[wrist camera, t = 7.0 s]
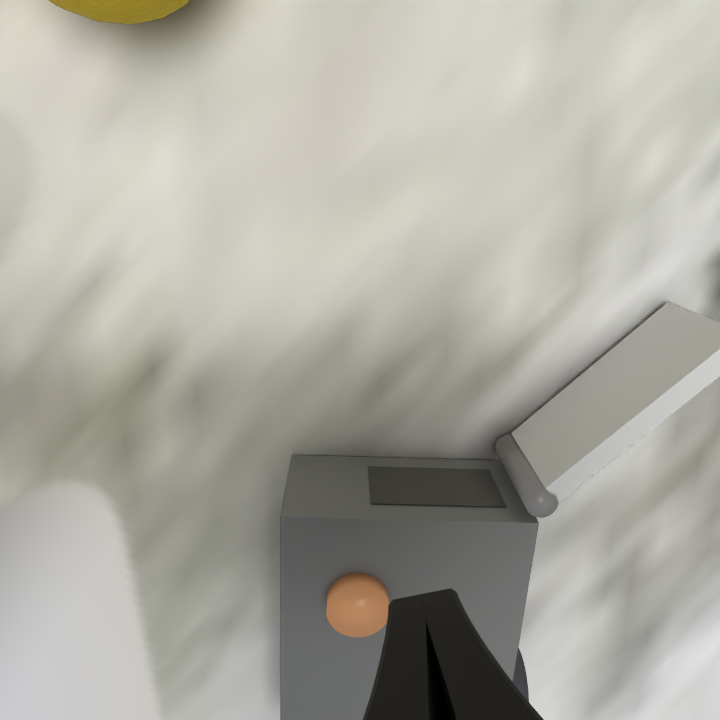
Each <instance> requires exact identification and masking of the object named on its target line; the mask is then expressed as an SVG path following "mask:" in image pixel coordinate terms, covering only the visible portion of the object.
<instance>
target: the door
mask: <svg viewBox="0 0 720 720" xmlns="http://www.w3.org/2000/svg"><path fill="white" fill-rule="evenodd" d="M719 376H720V323H719V322H717V321H714V320H712V319H709V318H707V317H705V316H702V315H700V314H697V313H695V312H693V311H690V310H688V309H685V308H683V307H681V306H678V305H676V304H673V303H671V302H667V303H666V304H665V305H664V306H663V307H661V308H660V309H659V310H658V311H657V312H655V313H654V314H653V315H652V316H651V317H649V318H648V319H647V320H646V321H645V322H643V323H642V324H641V325H640V326H639V327H637V328H636V329H635V330H634V331H633V332H632V333H630V334H629V335H628V336H627V337H626V338H624V339H623V340H622V341H621V342H620V343H618V344H617V345H616V346H615V347H614V348H612V349H611V350H610V351H609V352H608V353H606V354H605V355H604V356H603V357H602V358H600V359H599V360H598V361H597V362H596V363H594V364H593V365H592V366H591V367H590V368H588V369H587V370H586V371H585V372H584V373H582V374H581V375H580V376H579V377H578V378H576V379H575V380H574V381H573V382H572V383H571V384H569V385H568V386H567V387H566V388H565V389H563V390H562V391H561V392H560V393H559V394H557V395H556V396H555V397H554V398H553V399H551V400H550V401H549V402H548V403H547V404H545V405H544V406H543V407H542V408H541V409H539V410H538V411H537V412H536V413H535V414H533V415H532V416H531V417H530V418H529V419H527V420H526V421H525V422H524V423H523V424H521V425H520V426H519V427H518V428H517V429H515V430H514V431H513V432H512V433H511V434H506V435H503V436H502V437H500V438H499V439H498V440H497V442H496V445H495V450H496V452H497V454H498V456H499V458H500V460H501V462H502V464H503V466H504V468H505V469H506V471H507V473H508V475H509V477H510V479H511V481H512V483H513V485H514V487H515V488H516V490H517V492H518V494H519V496H520V498H521V500H522V502H523V504H524V505H525V507H526V509H527V511H528V512H529V514H531V515H532V516H534V517H546V516H549V515H550V514H552V513H553V512H554V511H555V510H556V508H557V506H558V502H560V501H562V500H563V499H564V498H565V497H567V496H568V495H569V494H571V493H572V492H573V491H574V490H576V489H577V488H578V487H579V486H581V485H582V484H583V483H585V482H586V481H587V480H588V479H590V478H591V477H592V476H593V475H595V474H596V473H597V472H599V471H600V470H601V469H602V468H604V467H605V466H606V465H607V464H609V463H610V462H611V461H613V460H614V459H615V458H616V457H618V456H619V455H620V454H621V453H623V452H624V451H625V450H627V449H628V448H629V447H630V446H632V445H633V444H634V443H635V442H637V441H638V440H639V439H641V438H642V437H643V436H644V435H646V434H647V433H648V432H649V431H651V430H652V429H653V428H655V427H656V426H657V425H658V424H660V423H661V422H662V421H663V420H665V419H666V418H667V417H669V416H670V415H671V414H672V413H674V412H675V411H676V410H677V409H679V408H680V407H681V406H683V405H684V404H685V403H686V402H688V401H689V400H690V399H691V398H693V397H694V396H695V395H697V394H698V393H699V392H700V391H702V390H703V389H704V388H705V387H707V386H708V385H709V384H711V383H712V382H713V381H714V380H716V379H717V378H718V377H719Z"/></svg>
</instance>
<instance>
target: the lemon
mask: <svg viewBox="0 0 720 720" xmlns="http://www.w3.org/2000/svg"><path fill="white" fill-rule="evenodd" d="M49 1H50V2H52V3H53V4H55V5H56V6H59V7H61V8H63V9H65V10H68V11H71V12H73V13H76V14H79V15H82V16H85V17H87V18H90V19H93V20H96V21H100V22H110V23H124V24H137V23H142V22H146V21H151V20H156V19H160V18H163V17H165V16H167V15H169V14H171V13H172V12H174V11H176V10H178V9H180V8H181V7H183V6H185V5H186V4H187V3H188V2H189V1H190V0H49Z"/></svg>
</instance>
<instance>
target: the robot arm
mask: <svg viewBox="0 0 720 720" xmlns="http://www.w3.org/2000/svg"><path fill="white" fill-rule="evenodd" d="M363 720H543V718H542V717H541V716H540V715H539V714H538V713H537V712H536V710H535V709H534V708H533V707H532V706H531V704H530V703H529V702H528V701H527V699H526V698H525V697H524V696H523V695H522V693H521V692H520V691H519V690H518V688H517V687H516V686H515V685H514V683H513V682H512V681H511V679H510V678H509V677H508V675H507V674H506V673H505V671H504V670H503V669H502V667H501V666H500V664H499V663H498V662H497V660H496V659H495V657H494V656H493V655H492V653H491V652H490V650H489V649H488V648H487V646H486V645H485V643H484V642H483V640H482V638H481V637H480V635H479V634H478V632H477V630H476V629H475V627H474V626H473V624H472V622H471V620H470V619H469V617H468V615H467V613H466V611H465V609H464V608H463V605H462V603H461V601H460V599H459V596H458V594H457V592H456V591H454V590H453V589H451V588H449V589H444V590H439V591H434V592H429V593H424V594H419V595H414V596H409V597H404V598H399V599H394V600H392V601H391V603H390V604H389V605H388V618H387V626H386V632H385V638H384V643H383V648H382V653H381V657H380V661H379V665H378V669H377V673H376V677H375V681H374V685H373V689H372V692H371V695H370V699H369V702H368V705H367V708H366V711H365V714H364V717H363Z"/></svg>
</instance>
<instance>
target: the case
mask: <svg viewBox="0 0 720 720" xmlns="http://www.w3.org/2000/svg"><path fill="white" fill-rule="evenodd" d="M538 525H539V522H538V521H537V519H536V517H534V516H532V515H531V514H529V512H528V511H527V509H526V507H525V505H524V504H523V502H522V500H521V498H520V496H519V494H518V492H517V490H516V488H515V487H514V485H513V483H512V481H511V479H510V477H509V475H508V473H507V471H506V469H505V468H504V466H503V464H502V462H501V460H467V459H430V458H393V457H357V456H320V455H292V457H291V462H290V468H289V473H288V478H287V484H286V489H285V494H284V500H283V505H282V510H281V516H280V716H281V720H363V717H364V714H365V711H366V708H367V705H368V702H369V699H370V695H371V692H372V689H373V685H374V681H375V677H376V673H377V669H378V665H379V661H380V657H381V653H382V648H383V643H384V638H385V632H386V626H387V618H388V605H389V604H390V603H391V601H392V600H394V599H399V598H404V597H409V596H414V595H419V594H424V593H429V592H434V591H439V590H444V589H449V588H451V589H453V590H454V591H456V592H457V594H458V596H459V599H460V601H461V603H462V605H463V608H464V609H465V611H466V613H467V615H468V617H469V619H470V620H471V622H472V624H473V626H474V627H475V629H476V630H477V632H478V634H479V635H480V637H481V638H482V640H483V642H484V643H485V645H486V646H487V648H488V649H489V650H490V652H491V653H492V655H493V656H494V657H495V659H496V660H497V662H498V663H499V664H500V666H501V667H502V669H503V670H504V671H505V673H506V674H507V675H508V677H509V678H510V679H511V681H512V682H513V683H514V685H515V686H516V687H517V688H518V690H519V691H520V692H521V693H522V695H523V696H524V697H525V698H526V699H527V701H528V702H529V698H528V685H527V677H526V671H525V666H524V662H523V659H522V655H521V653H520V650H519V648H518V645H519V639H520V633H521V627H522V621H523V615H524V609H525V603H526V597H527V591H528V585H529V579H530V573H531V567H532V561H533V555H534V549H535V543H536V537H537V531H538Z"/></svg>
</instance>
